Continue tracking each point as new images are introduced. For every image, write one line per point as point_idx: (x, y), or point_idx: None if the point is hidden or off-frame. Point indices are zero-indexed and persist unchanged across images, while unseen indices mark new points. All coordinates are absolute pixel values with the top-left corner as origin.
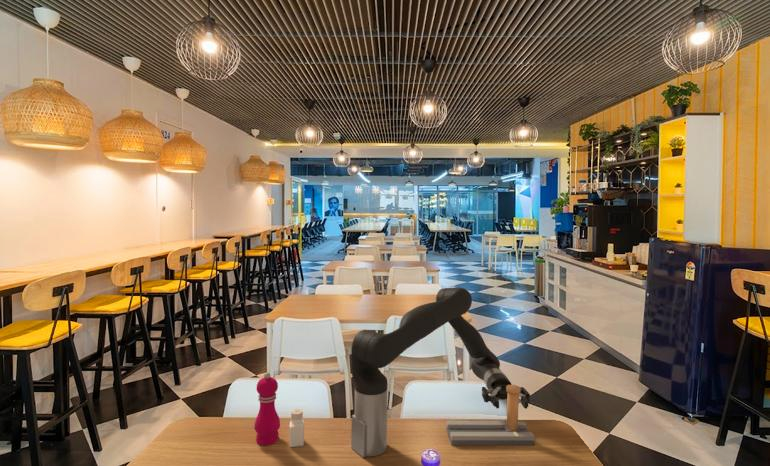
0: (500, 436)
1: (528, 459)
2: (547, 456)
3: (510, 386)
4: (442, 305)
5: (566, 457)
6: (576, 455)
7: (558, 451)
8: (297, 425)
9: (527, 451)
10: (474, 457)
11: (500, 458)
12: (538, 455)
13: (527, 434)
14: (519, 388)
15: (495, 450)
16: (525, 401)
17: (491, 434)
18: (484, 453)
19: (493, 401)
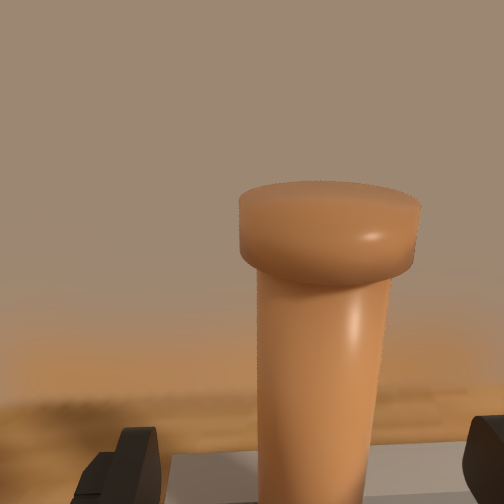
0: (393, 445)
1: (256, 393)
2: (159, 413)
3: (363, 206)
4: None
5: (74, 411)
6: (10, 426)
7: (73, 451)
8: None
9: (240, 443)
10: (492, 393)
11: (377, 393)
12: (198, 418)
13: (209, 474)
14: (253, 194)
15: (407, 443)
16: (142, 431)
17: (455, 460)
18: (457, 419)
19: None
